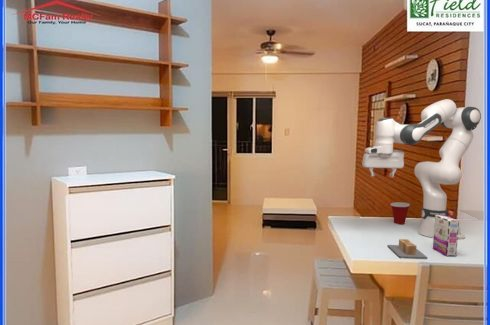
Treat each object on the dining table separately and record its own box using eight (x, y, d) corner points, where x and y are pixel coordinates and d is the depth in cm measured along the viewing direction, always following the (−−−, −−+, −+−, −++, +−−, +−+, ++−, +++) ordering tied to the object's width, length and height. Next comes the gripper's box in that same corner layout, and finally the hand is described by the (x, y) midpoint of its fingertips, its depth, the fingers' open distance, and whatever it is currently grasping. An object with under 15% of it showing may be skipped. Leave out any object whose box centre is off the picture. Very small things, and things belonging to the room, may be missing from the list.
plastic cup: (386, 221, 232) (387, 201, 231) (403, 221, 233) (404, 201, 232) (394, 225, 221) (395, 205, 220) (412, 225, 222) (413, 205, 221)
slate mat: (412, 247, 182) (412, 245, 182) (427, 259, 166) (427, 257, 166) (387, 246, 182) (387, 244, 182) (399, 258, 166) (399, 256, 166)
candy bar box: (457, 256, 170) (459, 220, 168) (446, 256, 170) (449, 220, 168) (442, 248, 181) (444, 214, 180) (432, 248, 181) (434, 214, 179)
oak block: (407, 245, 168) (399, 239, 178) (406, 254, 169) (398, 247, 179) (416, 246, 168) (407, 239, 178) (415, 254, 168) (407, 247, 178)
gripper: (401, 149, 196) (400, 176, 197) (362, 148, 196) (360, 175, 198) (406, 150, 189) (405, 177, 191) (365, 149, 190) (364, 177, 191)
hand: (382, 176), depth 194 cm, fingers open, 8 cm apart
